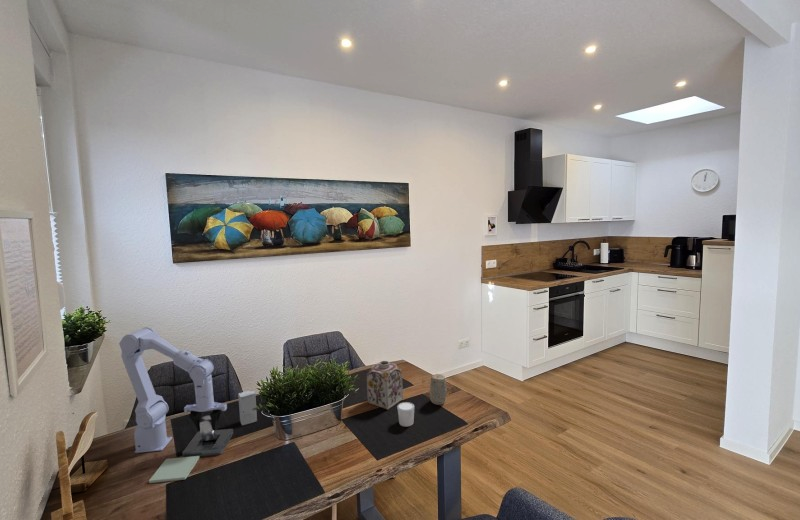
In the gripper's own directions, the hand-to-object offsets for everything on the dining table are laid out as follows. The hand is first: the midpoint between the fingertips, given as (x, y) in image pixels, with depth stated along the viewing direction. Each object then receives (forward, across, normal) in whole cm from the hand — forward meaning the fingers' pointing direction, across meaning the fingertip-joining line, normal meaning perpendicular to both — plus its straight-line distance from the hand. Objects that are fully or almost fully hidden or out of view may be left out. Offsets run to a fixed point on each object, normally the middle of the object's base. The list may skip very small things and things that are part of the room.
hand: (207, 429), depth 139 cm
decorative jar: (+6, -65, -27) cm, 71 cm away
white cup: (+6, -74, -9) cm, 74 cm away
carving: (+6, -88, -24) cm, 92 cm away
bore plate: (+6, 0, 0) cm, 6 cm away
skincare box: (+6, -9, -16) cm, 19 cm away
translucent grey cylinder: (+3, 0, 0) cm, 3 cm away
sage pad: (+6, +5, +13) cm, 16 cm away
